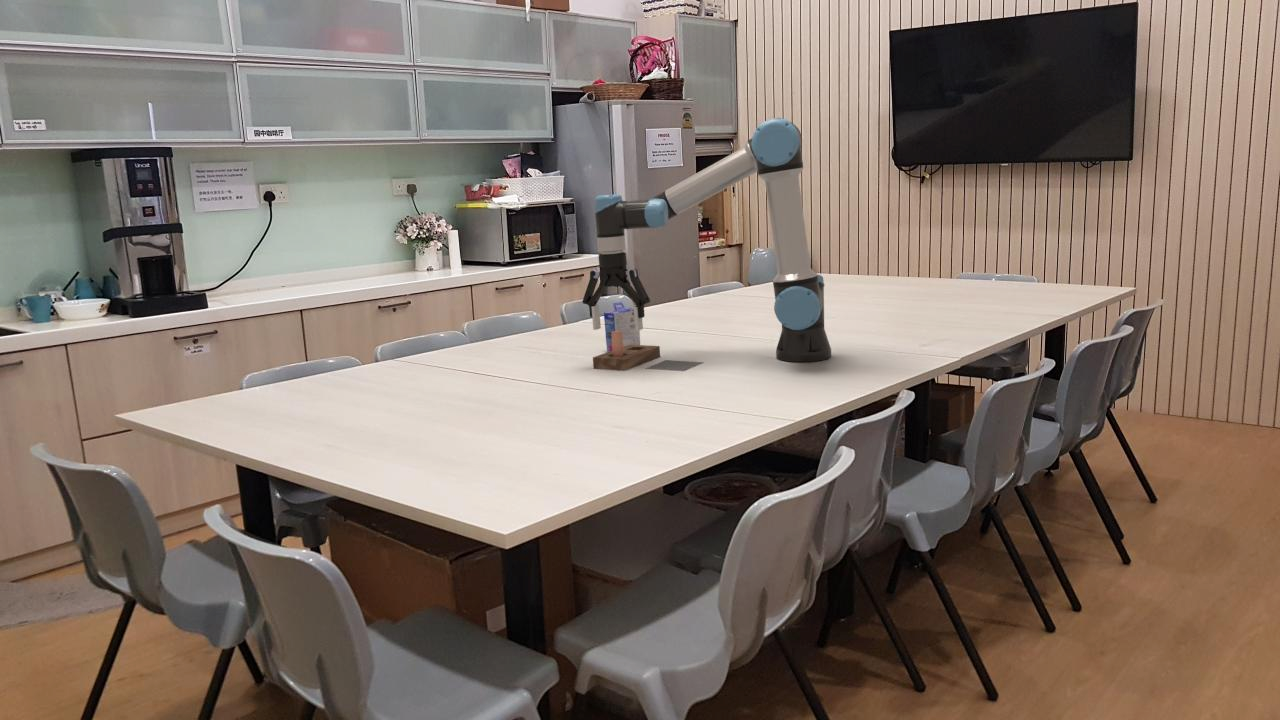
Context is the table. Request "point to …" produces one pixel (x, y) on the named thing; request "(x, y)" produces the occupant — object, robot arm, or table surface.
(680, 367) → the mat
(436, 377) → the table surface
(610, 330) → the ink cartridge box
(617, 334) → the peg
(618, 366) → the socket block
